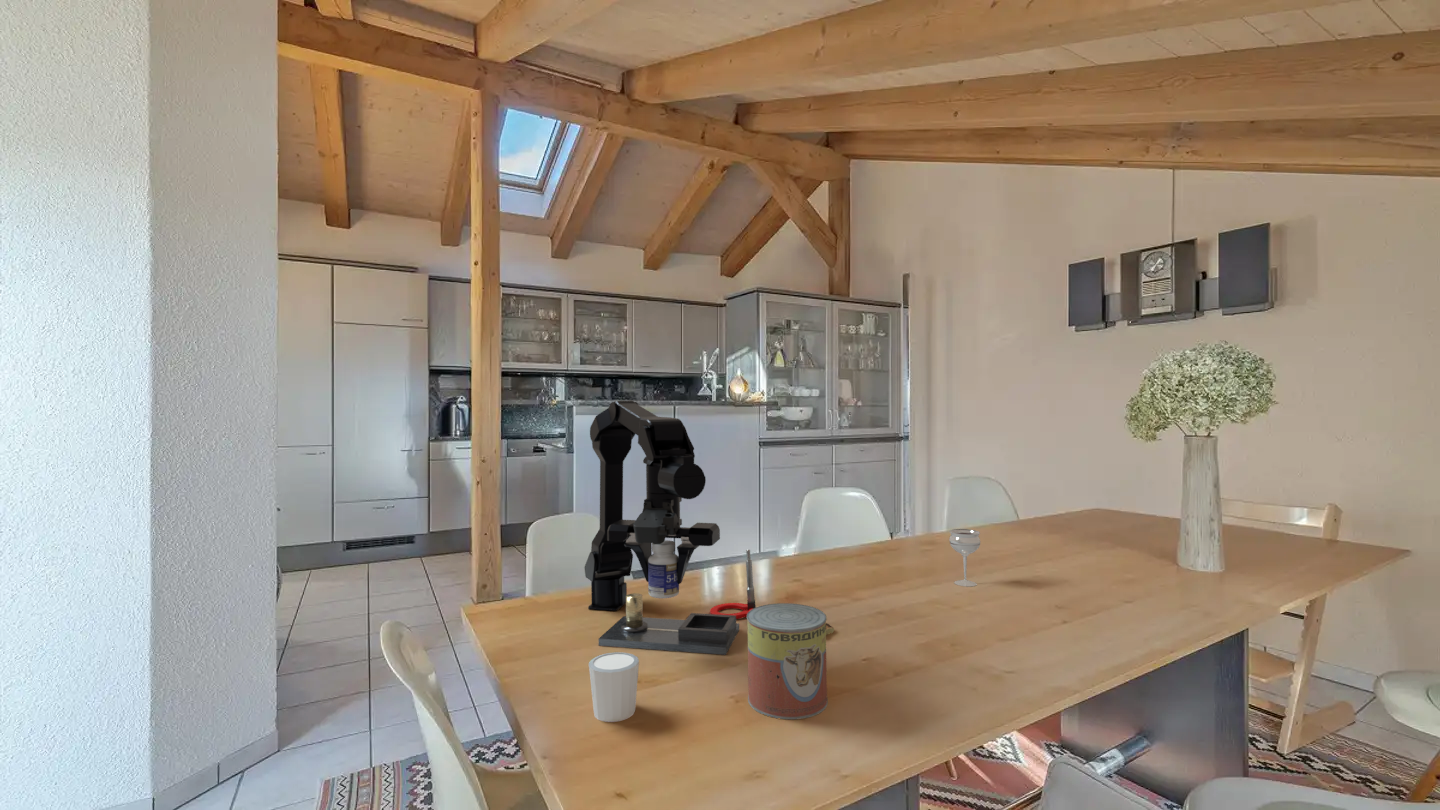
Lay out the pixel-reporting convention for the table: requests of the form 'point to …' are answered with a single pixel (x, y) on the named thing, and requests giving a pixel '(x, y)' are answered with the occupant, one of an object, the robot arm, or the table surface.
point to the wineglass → (964, 548)
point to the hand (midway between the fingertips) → (664, 582)
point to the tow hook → (750, 596)
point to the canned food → (787, 660)
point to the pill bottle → (663, 571)
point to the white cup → (614, 685)
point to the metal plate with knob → (671, 631)
